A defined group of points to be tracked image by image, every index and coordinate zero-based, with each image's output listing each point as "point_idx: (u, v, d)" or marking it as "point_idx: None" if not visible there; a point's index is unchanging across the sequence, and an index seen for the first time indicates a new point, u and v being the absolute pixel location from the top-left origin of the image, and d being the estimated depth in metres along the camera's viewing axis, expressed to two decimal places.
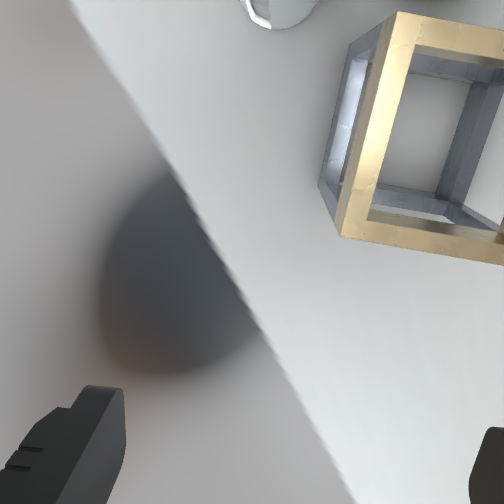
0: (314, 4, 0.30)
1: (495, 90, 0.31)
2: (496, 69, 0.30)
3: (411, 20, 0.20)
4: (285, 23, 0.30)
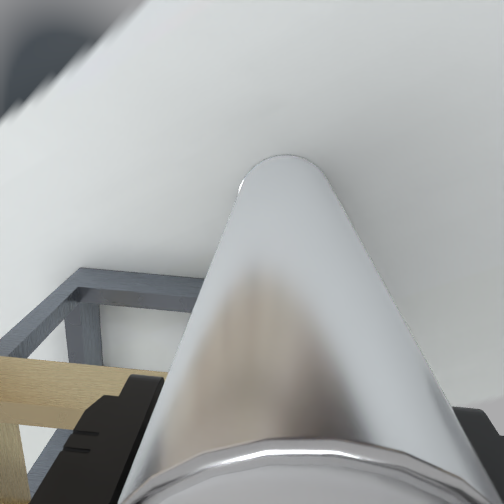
0: None
1: None
2: None
3: None
4: None
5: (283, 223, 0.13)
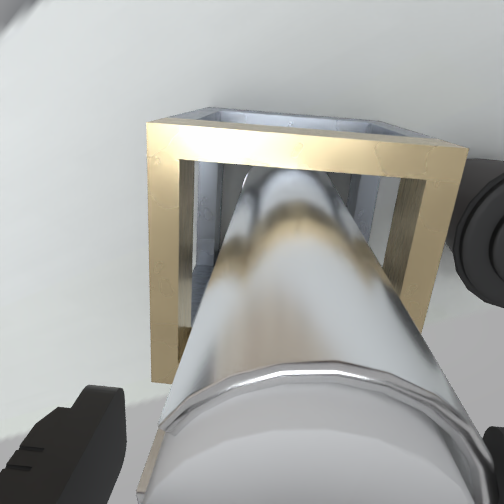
0: None
1: None
2: None
3: (456, 168, 0.15)
4: None
5: (288, 209, 0.15)
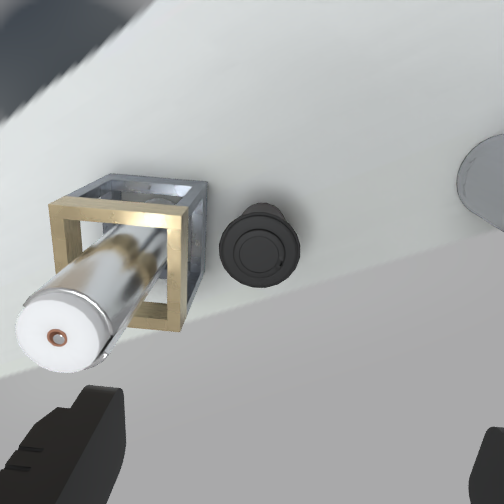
0: None
1: (186, 276, 0.49)
2: (197, 273, 0.49)
3: (178, 223, 0.35)
4: None
5: (106, 241, 0.35)
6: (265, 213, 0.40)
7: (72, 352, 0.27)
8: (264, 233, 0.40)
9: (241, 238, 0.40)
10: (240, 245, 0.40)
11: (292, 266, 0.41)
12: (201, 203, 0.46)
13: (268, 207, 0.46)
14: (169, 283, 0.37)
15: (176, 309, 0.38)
